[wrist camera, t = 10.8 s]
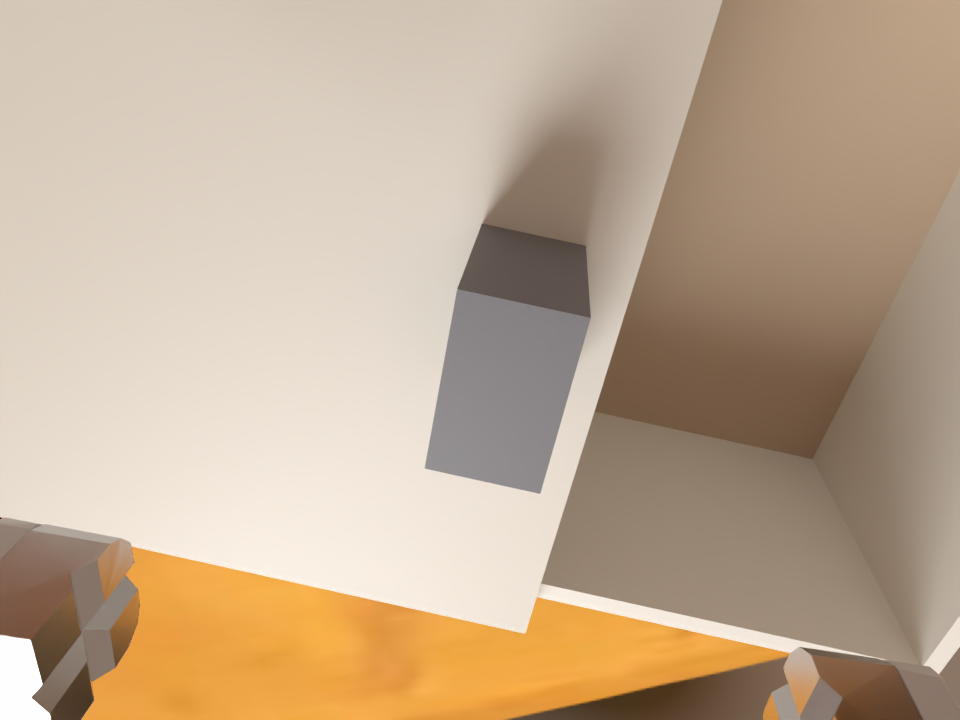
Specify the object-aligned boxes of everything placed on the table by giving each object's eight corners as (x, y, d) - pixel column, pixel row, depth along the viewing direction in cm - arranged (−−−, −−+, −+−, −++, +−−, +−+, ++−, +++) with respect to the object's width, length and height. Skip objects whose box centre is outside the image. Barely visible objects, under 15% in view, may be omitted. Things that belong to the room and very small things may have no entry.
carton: (814, 462, 33) (931, 684, 22) (439, 380, 33) (379, 561, 23) (1058, -14, 23) (1461, -21, 13) (530, -124, 24) (499, -219, 13)
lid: (526, 613, 22) (517, 757, 18) (-49, 486, 23) (-190, 599, 18) (776, -202, 12) (883, -302, 8) (-251, -413, 13) (-659, -614, 9)
